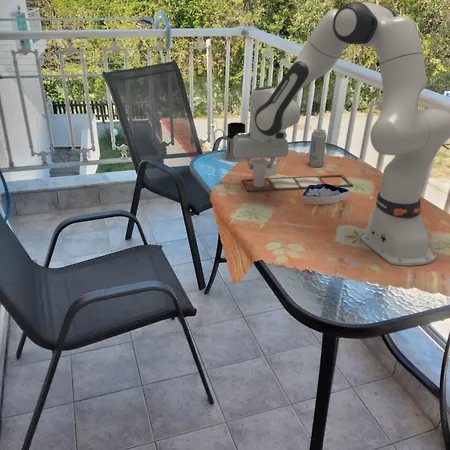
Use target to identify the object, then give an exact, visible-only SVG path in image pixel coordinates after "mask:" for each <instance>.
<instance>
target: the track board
mask: <svg viewBox="0 0 450 450" xmlns="http://www.w3.org/2000/svg"><path fill="white" fill-rule="evenodd" d="M338 177H339V178H342V180H344V182H346V184H334V185H333V186H338V187H337V188H347V187H348V188H352V187H354V184H352V182H351V181H350V180H349V179H348V178H347V177H346V176H345V175H344V174H330V175H329V174H327V175H326V174H325V175H324V174H322V175H309V176H308V175H307V176H306V175H304V176H287V177H285V176H284V177H267V178H266V177H265V181H267V182H268V183H269V185H270V187H271V188H259V189H258V188H257V189H254V188H253V189H251V188H250V187H249V186H248V184H247V182H254V179H253V178H246V179H244V178H243V179H242V180H241V181H242V184H243V186H244V188H245V190H246V192H247V193H256V192H259V193H260V192H272V191H273V192H274V191H291V190H292V191H293V190H294V191H296V190H297V191H298V190H307V189H306V188H307V186H309V185H317V184H322V183H325V182H324V180H323V179H324V178H326V179H327V178H338Z"/></svg>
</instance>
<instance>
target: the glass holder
mask: <svg viewBox="0 0 450 450" xmlns="http://www.w3.org/2000/svg"><path fill="white" fill-rule="evenodd" d="M217 131H221V132H222V137H223V139H226V150H224V148H221V146H219V144H218V143H217V141H216V132H217ZM224 131H225V130H223V129H222V128H217V129H215V130H214V132H213V139H214V143H215V144H216V147H218V148H219V149H220V150H221V151H223V152H224V153H225V154H226V155H225V160H226V161H228V162H230V163H231V162H232V163H241V162H245V161H246V159H236V158H235V157H234V155H233V149H234V144H233V137H234V136H235V135H237V134H238V133H247V131H246V124H245V123H244V122H236V121H234V122H230V123H227V136H226V137H225V132H224Z"/></svg>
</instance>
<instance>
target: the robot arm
mask: <svg viewBox="0 0 450 450" xmlns="http://www.w3.org/2000/svg"><path fill="white" fill-rule="evenodd" d="M348 45H355V46H360V47H374V49H376V52H377V55H378V63H379V64H378V65H379V68H380V69H379V70H380V75H381V85H382V94H383V95H382V105H381V109H380V113H379V116H378V118H377V120H376V121H375V122H374V123H373V125H372V127H371V129H370V136H369V139H370V143H371V145H372V147H373V149H374V150H375V151H376V153H378V154H380V155H386V156H394V157H393V158H392V159H391V161H389V163H387V164H386V166H385V168H384V169H383V174H382V179H381V183H380V190H379V191H378V193H377V196H376V201H375V202H376V203H375V205H376V207H375V208H374V210H373V211H372V213H371V214H370V216H369V220H368V223H367V226H366V230H365V233H364V234H362V235H361V237H360V240H361V241H362V242H363V243H364V244H366V245H367V246H368V247H369V248H370V249H371V250H373V251H374V252H375V253H376V254H378V255H379V256H380V257H381V258H382V259H384V260H385V261H386V262H387V263H389V264H391V265H395V266H396V265H397V266H420V265H421V266H422V265H426V264H430V263H432V262H434V261H435V260H436V256H435V255H434V253H433V252H432V250H431V248H430V246H429V242H430V238H429V237H430V236H431V230H430V229H429V228H428V229H427V228H426V227H425V224H424V220H423V219H422V217H421V213H422V212H423V211H422V210H423V208H421V206H422V203H421V198H420V197H421V193H422V190H423V189H422V188H423V186H424V181H425V178H426V174H427V172H428V170H429V168H430V166H431V164H432V162H433V161H434V159H435V157H436V155H437V154H438V152H439V151H440V149H441V147H443V146H444V145H445V143H446V142H447V141H448V140H450V113H449V112H447V111H445V110H444V109H437V108H423V109H419V99H420V95H421V93H422V92H423V91H424V90H425V88H426V86H427V85H428V84H427V83H428V78H427V71H426V66H425V65H426V64H425V59H424V58H425V57H424V52H423V47H422V46H423V45H422V43H421V39H420V34H419V31H418V29H417V27H416V24H415V21H414V20H413V19H412V18H411V17H409V16H406V15H398V14H397V13H396V12H395V11H394V10H393V9H392V8H390V7H388V6H385V5H384V6H383V5H380V4H376V3H373V2H368V1H367V2H364V1H363V2H362V1H351V2H348V3H345V4H343V5H342V6H340V7H339V8H337V9H336V8H334V9H331V10H329V11H327V12H326V13H325V14H324V16H323V17H321V20H319V22H318V23H317V24H316V25H315V27H314V29H313V30H312V31H311V33H310V35H309V36H308V39H307V40H306V42H305V43H304V45H303V47H302V49H301V51H300V52H299V54H298V56H297V57H296V59H295V60H294V62H293V63H292V64H291V66H290V68H289V69H288V71H287V72H286V74H285V75H284V76H283V78H282V79H281V80H280V82H279V83H278V85H277V87H274V86H271V85H270V86H269V85H267V86H266V85H264V86H260V87H257V88H254V90H252V92H251V95H250V96H251V97H250V104H249V105H250V106H249V112H250V113H249V114H250V120H249V128H248V129H249V130H248V131H249V132H245V133H238V134H237V135H235V136H234V137H233V144H234V149H233V155H234V157H235V158H236V159H246V160H245V161H246V162H247V164H248V166H247V168H248V170H253V165H252V164H251V162H250V161H251V159H261V158H262V159H265V158H266V159H269V158H270V159H271V160H270V162H269V163H268V165H267V168H268V169H269V168H272V164H273V162H274V161H275V162H276V158H286V157H287V156H288V155H289V141H288V140H287V135H288V134H287V132H286V131H285V130H286V129H288V128H291V127H293V126H294V125H296V124H297V123H298V122H299V121H300V118H301V116H302V115H301V108H300V106H299V103H297V101H295V100H294V99H295V97H296V96H297V95H298V93H299V92H300V91H301V90H302V89H303V88H305V87H306V86H308V85H309V84H310V83H312V82H314V81H315V80H317V79H319V78H322V77H323V76H325V75H326V74H327V73H328V72H329V71H330V70H331V69H332V68H333V67H334V66H335V65H336V63H337V62H338V60H339V58H340V57H341V56H342V54H343V52H344V50H345V49H346V48H347V46H348Z"/></svg>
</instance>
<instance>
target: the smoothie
mask: <svg viewBox="0 0 450 450" xmlns="http://www.w3.org/2000/svg"><path fill="white" fill-rule="evenodd" d="M267 160H268V159H265V158H253V159H252V160H250V161H251V162H250V164H252V165H253V169H252V177H253V178H252V179H254V181H253V186H254V187H256V188H263V187H264V186H265V181H266V180H265V178H266V170H267V165H268V161H267Z"/></svg>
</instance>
